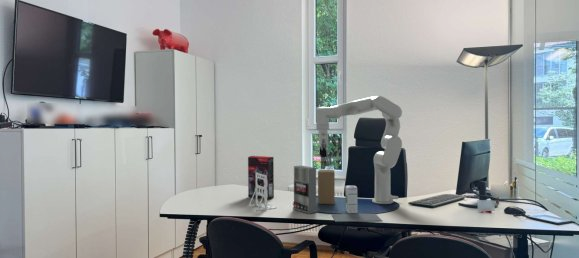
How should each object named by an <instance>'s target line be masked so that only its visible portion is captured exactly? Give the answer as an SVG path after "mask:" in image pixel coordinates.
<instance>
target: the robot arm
mask: <svg viewBox="0 0 579 258" xmlns="http://www.w3.org/2000/svg"><path fill="white" fill-rule="evenodd" d="M373 111H379V112H380V113H381V115H382V117H383V118H384V120H385V129H384V132H383V134H382V137H381V141H380V145H381V148H382V149H384V150H380V151H377V152H376V153H375V154H374V156H373V166H374V198H372V199H371V201H372V203H374V204H379V205H389V204H393V203H394V200H399V196H398V195H392V194H391V169H393V167H395V165H396V164H397V163H398V159H399V157H400V154H401V151H402V148H403V141H402V139H401V137H399V133H400V130H401V122H400V118H401V117H402V115H403V110H402V108H401V107H400V106H399V105H398V104H396V103H394V102H393V101H391V100H390V99H388V98H386V97H384V96H382V95H375V96H373V95H372V96H369V97H364V98H361V99H357V100H352V101H349V102H346V103H341V104H337V105H333V106H332V105H331V106H330V107H329V106H328V107H327V106H319V107H316V109H315V117H316V118H315V119H316V122H315V123H316V124H315V126H316V127H315V128H316V131H318V145H319V156H321V158H327V157H328V156H327V155H328V151H327V147H329V135H328V134H329V132H328V131H330V119H331V120H338V119H340V118H341V117H345V116H356V115H361V114H365V113H368V112H373Z"/></svg>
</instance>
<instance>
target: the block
mask: <svg viewBox="0 0 579 258" xmlns="http://www.w3.org/2000/svg"><path fill="white" fill-rule="evenodd" d="M335 181H336V180H335V170H334V169H318V170H317V202H318V203H317V204H318V205H335V196H336V195H335V188H336V187H335V186H336V185H335Z"/></svg>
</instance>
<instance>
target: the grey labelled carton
mask: <svg viewBox="0 0 579 258" xmlns="http://www.w3.org/2000/svg"><path fill="white" fill-rule="evenodd" d="M292 209H293V210H295V211H299V212H302V213H306V214H307V215H310V214H313V213H317V211H318V210H317V168H316V167H313V166H306V165H294V166H293V207H292Z"/></svg>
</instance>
